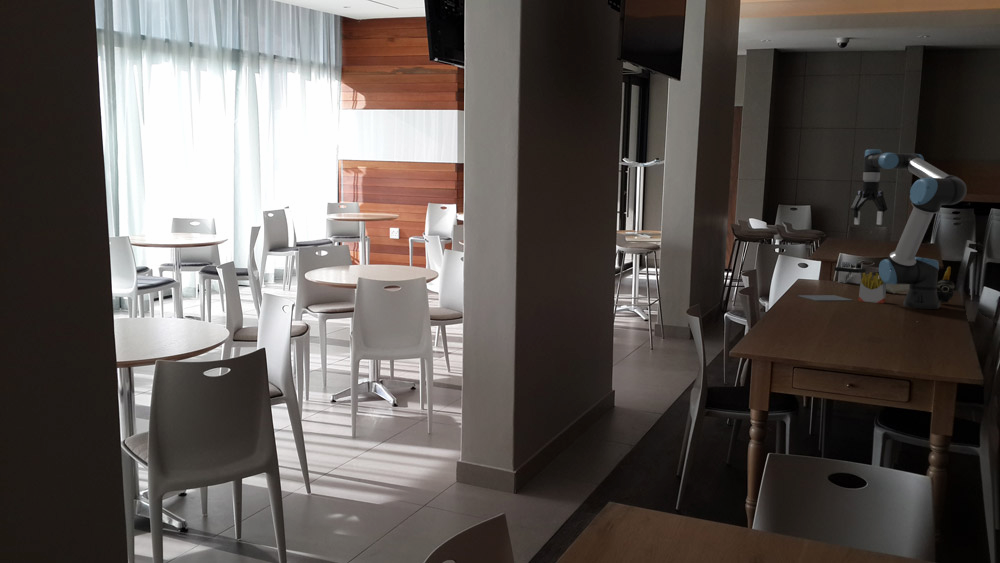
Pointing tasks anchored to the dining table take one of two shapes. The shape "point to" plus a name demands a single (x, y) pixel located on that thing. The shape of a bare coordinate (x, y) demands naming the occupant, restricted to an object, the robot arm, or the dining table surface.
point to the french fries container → (872, 289)
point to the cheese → (896, 288)
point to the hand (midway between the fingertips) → (867, 224)
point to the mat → (825, 298)
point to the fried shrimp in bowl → (945, 287)
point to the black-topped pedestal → (850, 273)
